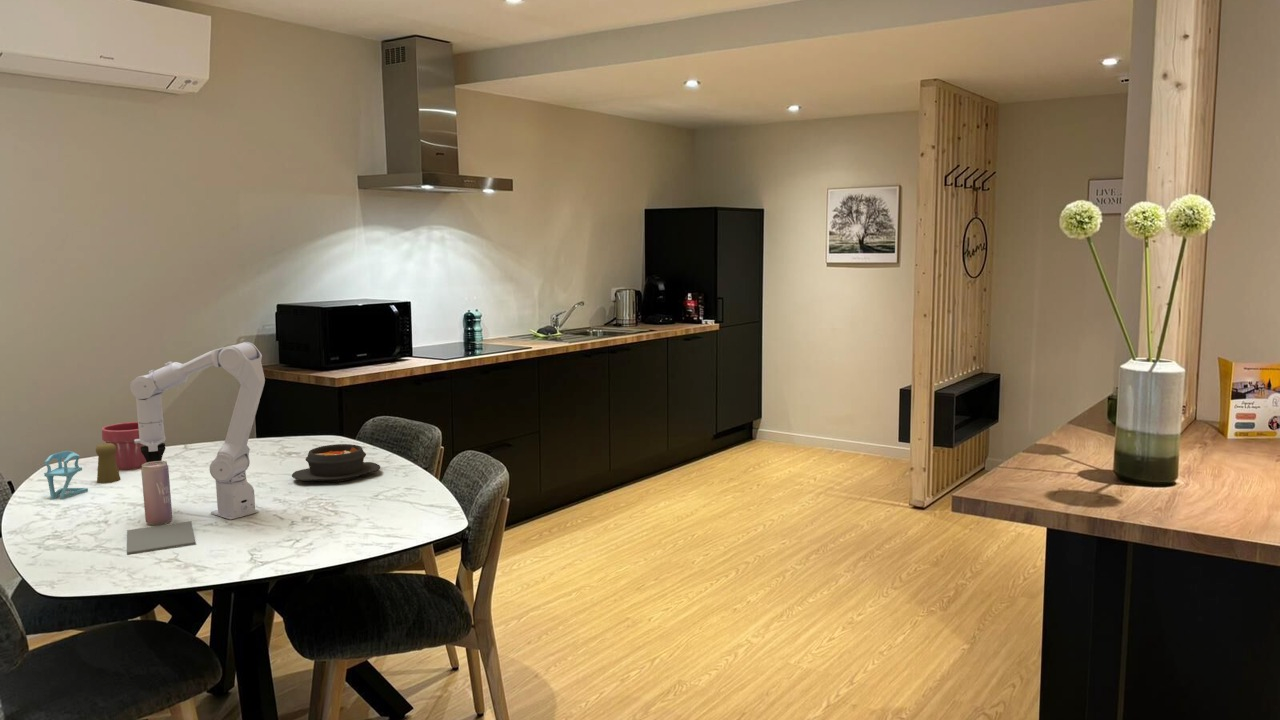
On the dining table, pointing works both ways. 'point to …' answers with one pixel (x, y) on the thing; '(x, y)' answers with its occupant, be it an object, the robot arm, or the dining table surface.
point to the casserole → (335, 464)
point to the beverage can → (156, 492)
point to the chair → (63, 474)
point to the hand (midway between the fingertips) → (155, 473)
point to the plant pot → (125, 444)
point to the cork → (107, 463)
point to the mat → (160, 537)
